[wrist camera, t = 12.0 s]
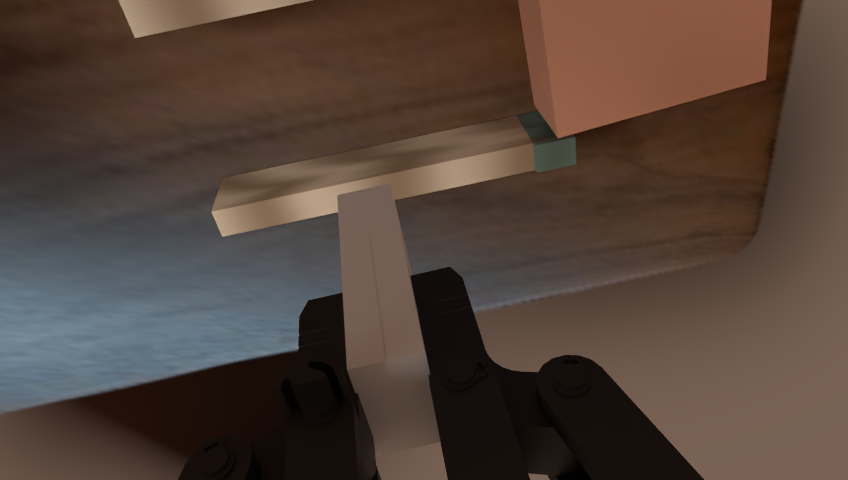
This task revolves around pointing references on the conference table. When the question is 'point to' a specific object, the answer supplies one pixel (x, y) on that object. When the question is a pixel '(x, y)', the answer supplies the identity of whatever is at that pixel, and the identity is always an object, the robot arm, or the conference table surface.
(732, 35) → the block
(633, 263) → the conference table surface
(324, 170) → the tan piece
